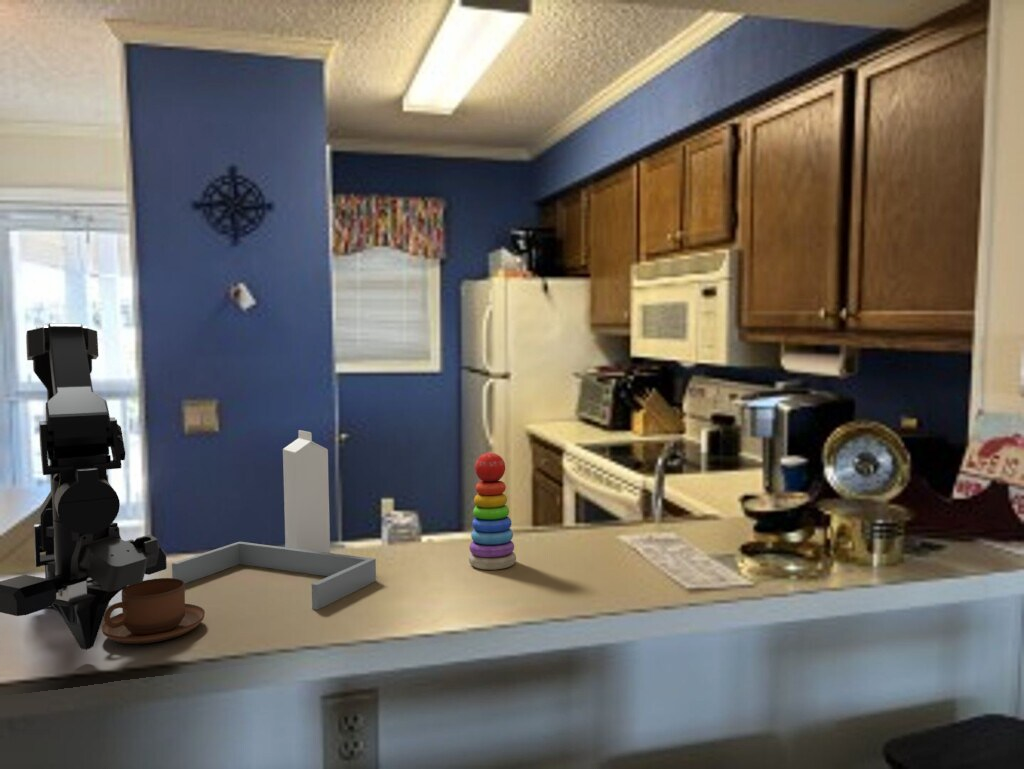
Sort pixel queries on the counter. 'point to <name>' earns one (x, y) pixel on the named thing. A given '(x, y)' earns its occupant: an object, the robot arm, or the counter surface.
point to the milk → (306, 495)
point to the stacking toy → (491, 517)
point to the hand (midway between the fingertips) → (86, 648)
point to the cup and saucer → (152, 612)
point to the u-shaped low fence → (286, 567)
